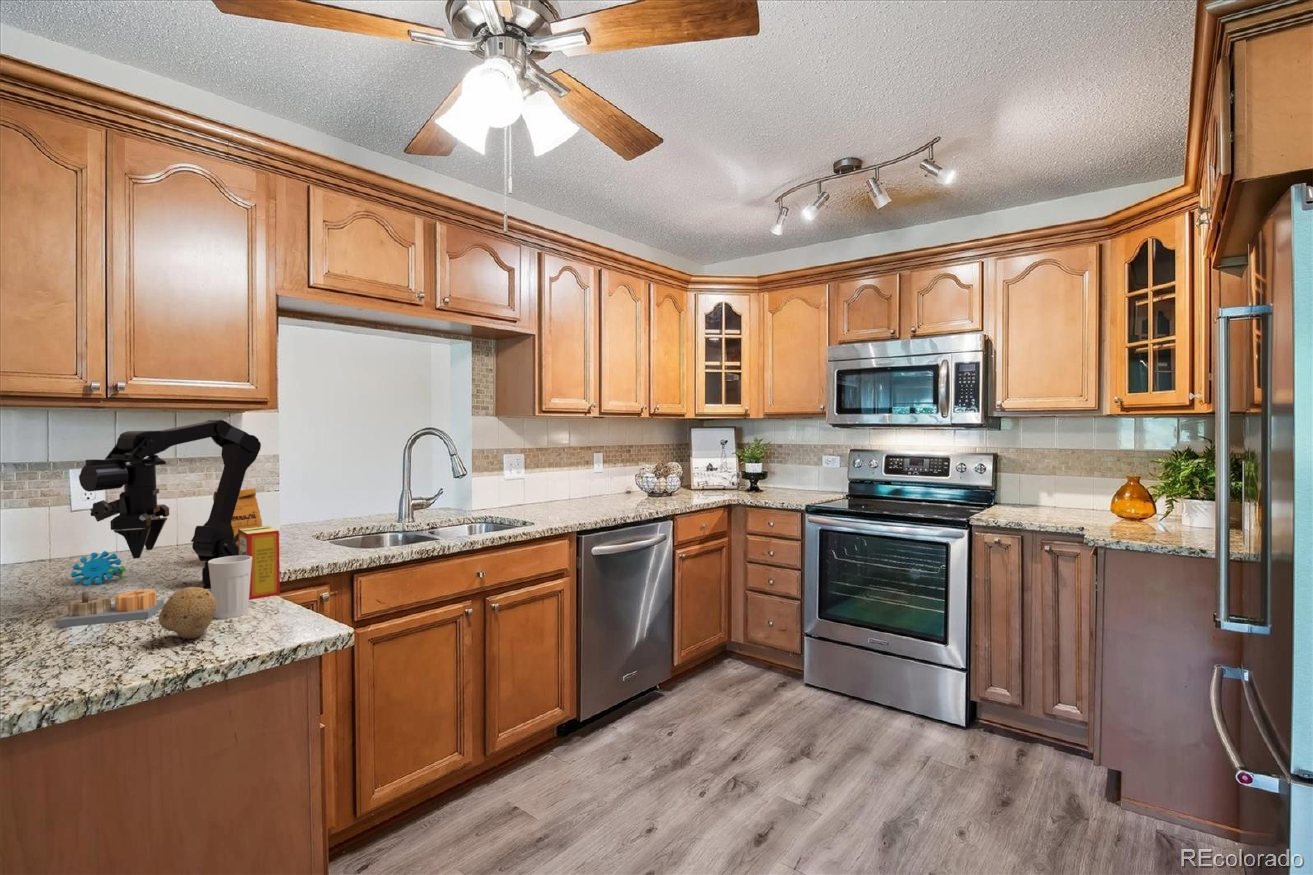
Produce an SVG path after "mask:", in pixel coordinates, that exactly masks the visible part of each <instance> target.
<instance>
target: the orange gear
mask: <svg viewBox="0 0 1313 875" xmlns="http://www.w3.org/2000/svg"><path fill="white" fill-rule="evenodd" d="M114 598H115V600H114V601H115V602H114V604H115V609H116V611H118V612H120V611H128V612H130V611H134V610H140V609H148V608H149V607H151V606H155V605H157V603H156V600H157V591H156V589H142V588H141V589H138V590H132V591H130V590H128V591H124V592H123V593H120V594H115V596H114Z"/></svg>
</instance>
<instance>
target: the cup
mask: <svg viewBox="0 0 1313 875" xmlns="http://www.w3.org/2000/svg"><path fill="white" fill-rule="evenodd" d="M208 566H209V574H210V582H211V588H210V590H211V591H210V592H211V593H212V594H213V595H214V597H215V599H216V603H217V605H216V611H215V615H214V618H213V619H233V618H238V617H242V616H245V615H247V614H248V613H249V612H250V611H249V609H250V608H249V602H250V600H249V591H250V577H251V566H252V557H251V556H228V557H221V558H216V559H212V560H210V561H208Z"/></svg>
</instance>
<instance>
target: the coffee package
mask: <svg viewBox="0 0 1313 875" xmlns="http://www.w3.org/2000/svg"><path fill="white" fill-rule="evenodd" d="M256 491H257V489H256V487H255V488H248V489H247V488H246V489H241V490H240V493H239V497H238V500H237V504H236V507H235V511H234V514H233V518H232V521H231V525H232V528H233V532H234V541H233V544H234V545H236V546H237V547H238V529H244V528H253V527H263V520H262V517H261V510H260V507H259V505H258V504H259V503H258V501H257V500H258V499H257V497H256V495H257V492H256ZM216 493H217V490H215V491H214V492H213V495H212V496H213V497H212V499H213V502H214V500H215V496H216ZM238 548H239V547H238Z"/></svg>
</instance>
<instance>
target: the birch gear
mask: <svg viewBox="0 0 1313 875" xmlns="http://www.w3.org/2000/svg"><path fill="white" fill-rule="evenodd" d="M111 604H112V597H111V595H93V596H89V592H86V591H85V592H81V597H79V598H76V599H74V600H68V601H67V614H68V615H69V616H77V615H78V616H86V615H90V614H99V613H102V612H103V611H106V610H110V609H111Z"/></svg>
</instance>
